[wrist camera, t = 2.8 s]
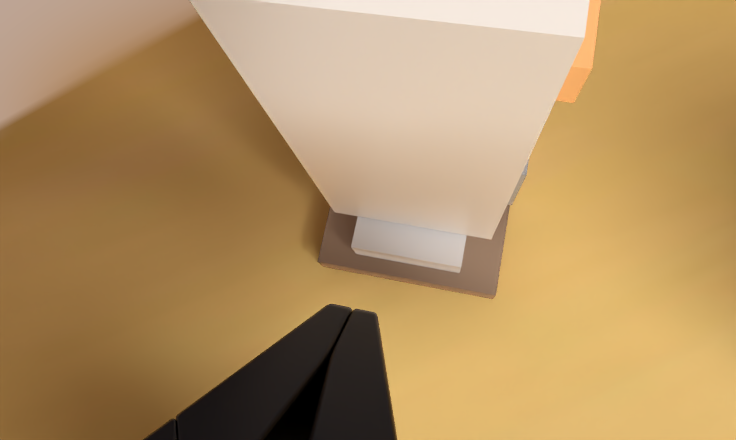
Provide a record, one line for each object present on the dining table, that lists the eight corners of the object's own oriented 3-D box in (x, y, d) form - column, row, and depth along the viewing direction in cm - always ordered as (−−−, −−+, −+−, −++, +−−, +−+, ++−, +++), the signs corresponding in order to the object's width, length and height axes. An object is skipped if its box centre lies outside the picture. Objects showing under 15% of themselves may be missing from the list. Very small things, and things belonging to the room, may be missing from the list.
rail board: (492, 298, 19) (512, 277, 14) (323, 266, 20) (286, 236, 15) (530, 57, 21) (559, -34, 16) (375, 39, 22) (357, -52, 17)
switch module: (511, 243, 17) (640, 43, 6) (334, 212, 18) (183, -8, 7) (527, 137, 18) (665, -201, 7) (356, 113, 18) (251, -219, 8)
